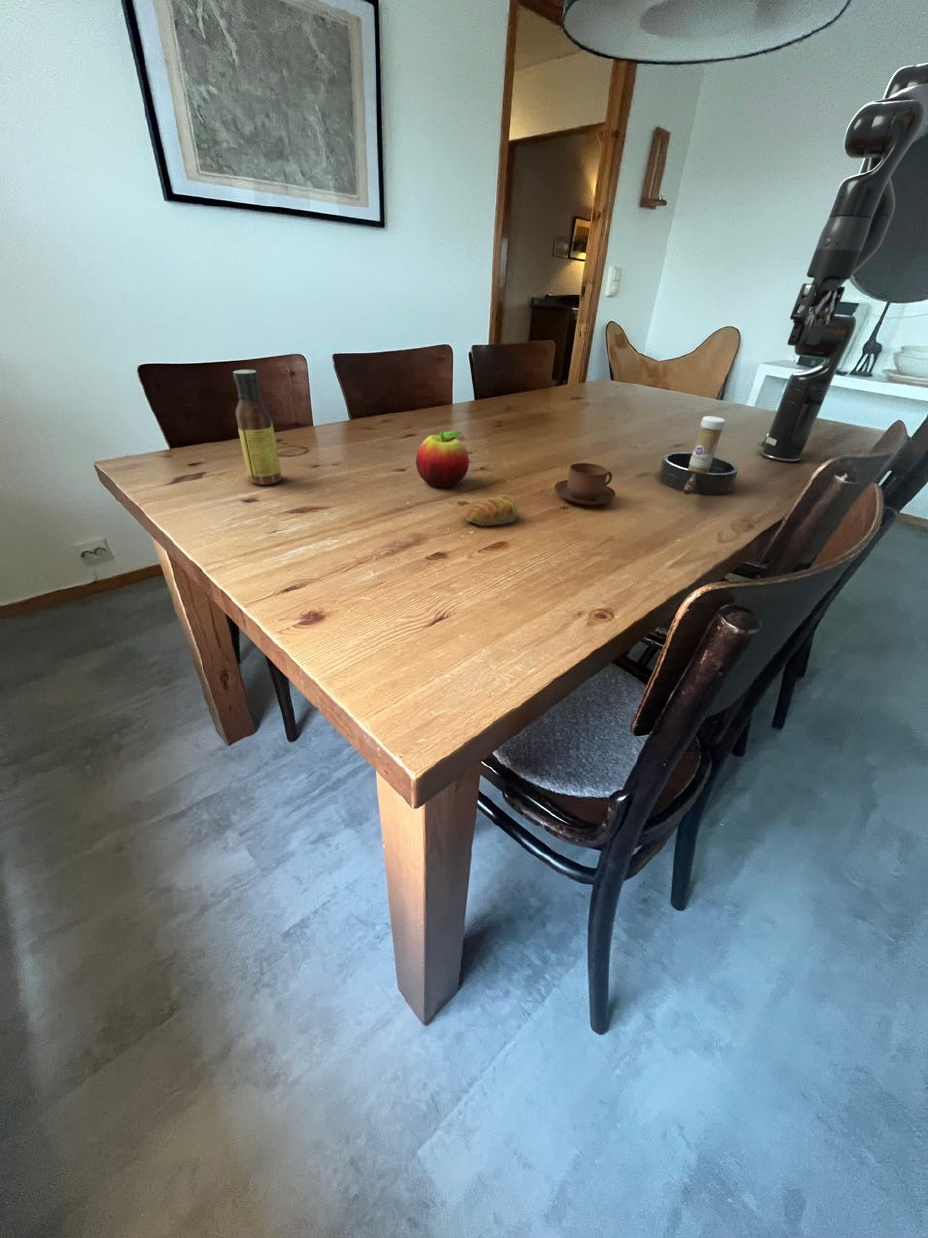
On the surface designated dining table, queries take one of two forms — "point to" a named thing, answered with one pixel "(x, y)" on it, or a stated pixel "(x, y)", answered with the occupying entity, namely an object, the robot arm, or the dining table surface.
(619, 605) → the dining table surface
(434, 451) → the fruit
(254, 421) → the sauce bottle
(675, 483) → the pan
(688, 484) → the pan handle
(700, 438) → the sprinkles bottle
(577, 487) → the cup and saucer
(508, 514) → the pastry
